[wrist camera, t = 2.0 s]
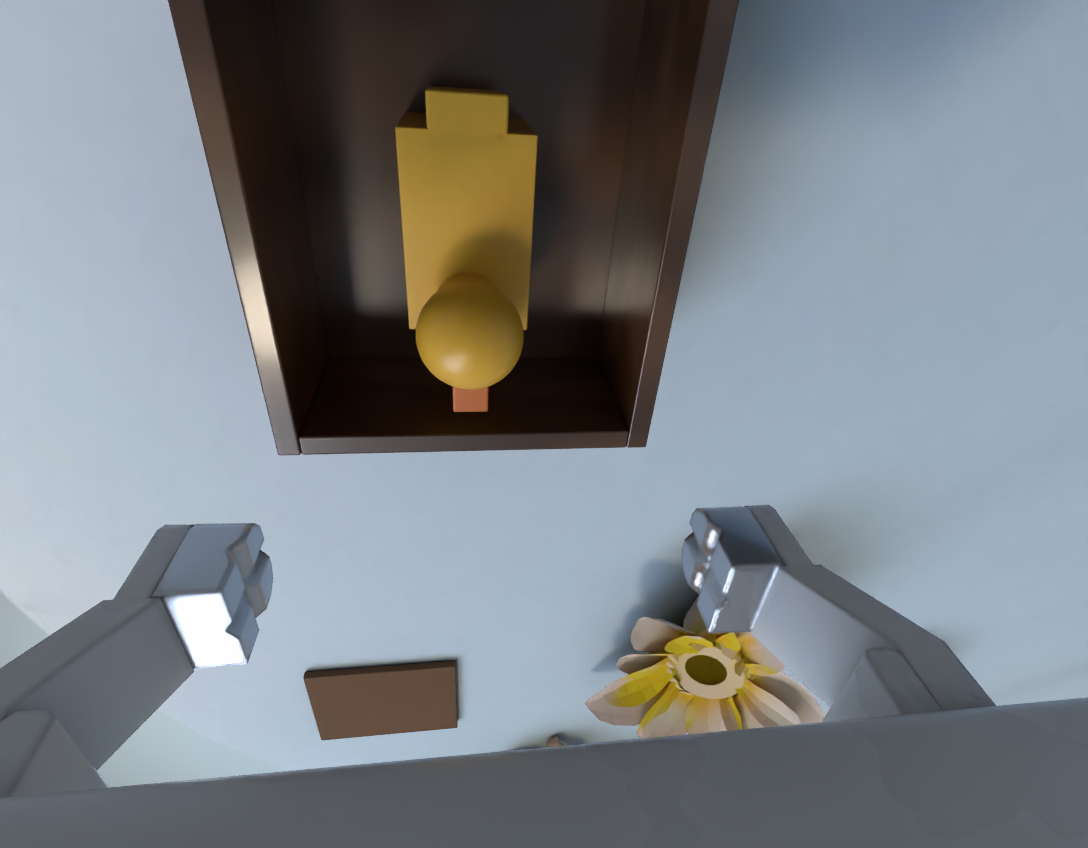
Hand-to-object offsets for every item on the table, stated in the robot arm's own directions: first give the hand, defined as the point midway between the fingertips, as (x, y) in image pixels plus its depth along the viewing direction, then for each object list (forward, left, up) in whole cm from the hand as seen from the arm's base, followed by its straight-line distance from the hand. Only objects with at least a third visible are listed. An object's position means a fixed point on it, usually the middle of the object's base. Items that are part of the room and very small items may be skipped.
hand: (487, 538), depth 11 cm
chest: (0, +3, -16) cm, 16 cm away
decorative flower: (+15, -26, -16) cm, 34 cm away
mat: (-6, -32, -16) cm, 36 cm away
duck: (0, +3, -15) cm, 15 cm away
